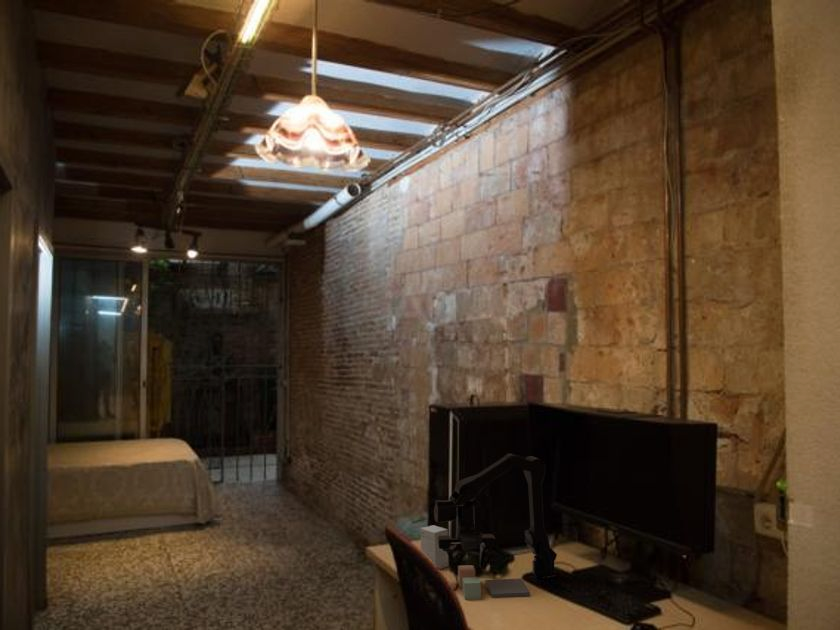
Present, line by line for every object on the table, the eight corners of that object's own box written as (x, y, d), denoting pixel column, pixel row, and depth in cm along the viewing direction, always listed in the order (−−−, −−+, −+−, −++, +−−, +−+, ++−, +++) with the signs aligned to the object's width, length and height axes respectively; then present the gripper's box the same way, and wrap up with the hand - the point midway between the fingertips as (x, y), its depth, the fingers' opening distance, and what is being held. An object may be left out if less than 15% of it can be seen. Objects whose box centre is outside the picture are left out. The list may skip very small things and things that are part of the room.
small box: (448, 566, 229) (448, 529, 230) (435, 570, 225) (434, 532, 226) (434, 560, 236) (433, 524, 236) (420, 564, 232) (420, 527, 232)
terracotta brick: (473, 580, 216) (472, 565, 216) (475, 586, 211) (475, 570, 211) (458, 581, 216) (458, 565, 216) (460, 586, 211) (460, 570, 211)
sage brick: (478, 593, 205) (478, 577, 205) (480, 599, 200) (480, 582, 200) (462, 593, 205) (462, 577, 205) (464, 599, 200) (464, 583, 200)
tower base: (521, 582, 213) (521, 578, 213) (529, 596, 201) (529, 592, 202) (485, 583, 213) (485, 579, 213) (491, 597, 201) (491, 593, 201)
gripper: (440, 527, 206) (441, 577, 205) (498, 525, 207) (499, 575, 206) (436, 518, 217) (437, 565, 216) (492, 516, 218) (493, 563, 217)
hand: (466, 567), depth 213 cm, fingers open, 9 cm apart
